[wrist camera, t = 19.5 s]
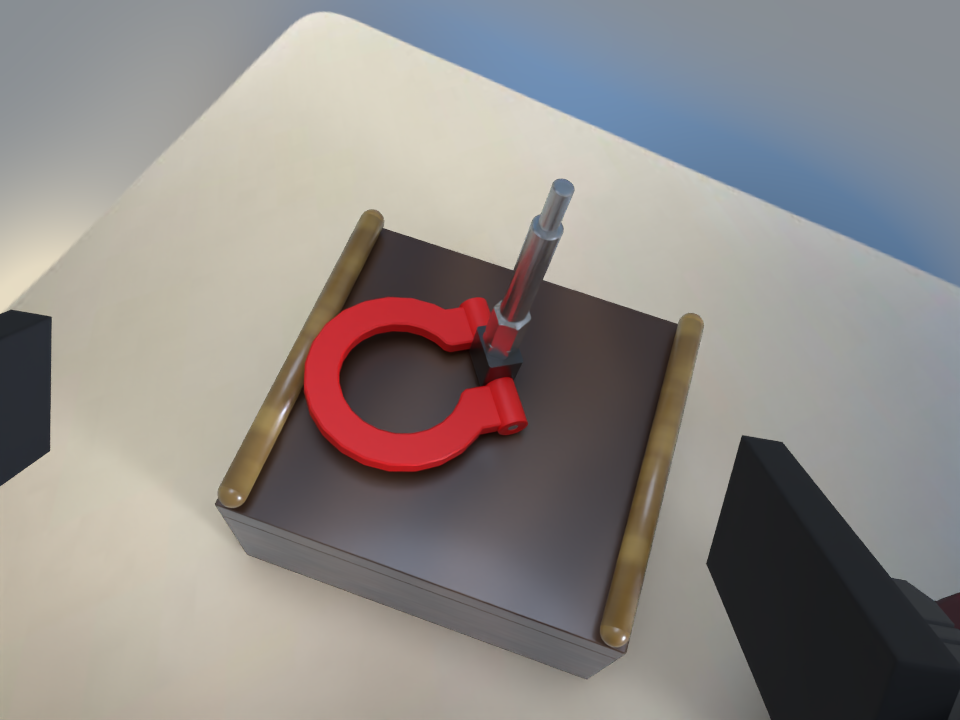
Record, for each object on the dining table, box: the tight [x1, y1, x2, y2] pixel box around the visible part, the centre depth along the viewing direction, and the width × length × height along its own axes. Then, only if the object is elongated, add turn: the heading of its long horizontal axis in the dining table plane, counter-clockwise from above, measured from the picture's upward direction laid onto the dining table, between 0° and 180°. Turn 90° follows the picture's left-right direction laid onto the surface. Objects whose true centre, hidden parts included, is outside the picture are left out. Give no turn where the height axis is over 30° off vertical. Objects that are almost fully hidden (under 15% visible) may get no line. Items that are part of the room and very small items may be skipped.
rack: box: [215, 209, 704, 679], centre depth 40 cm, size 18×16×10 cm
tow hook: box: [304, 179, 574, 472], centre depth 31 cm, size 8×13×9 cm
